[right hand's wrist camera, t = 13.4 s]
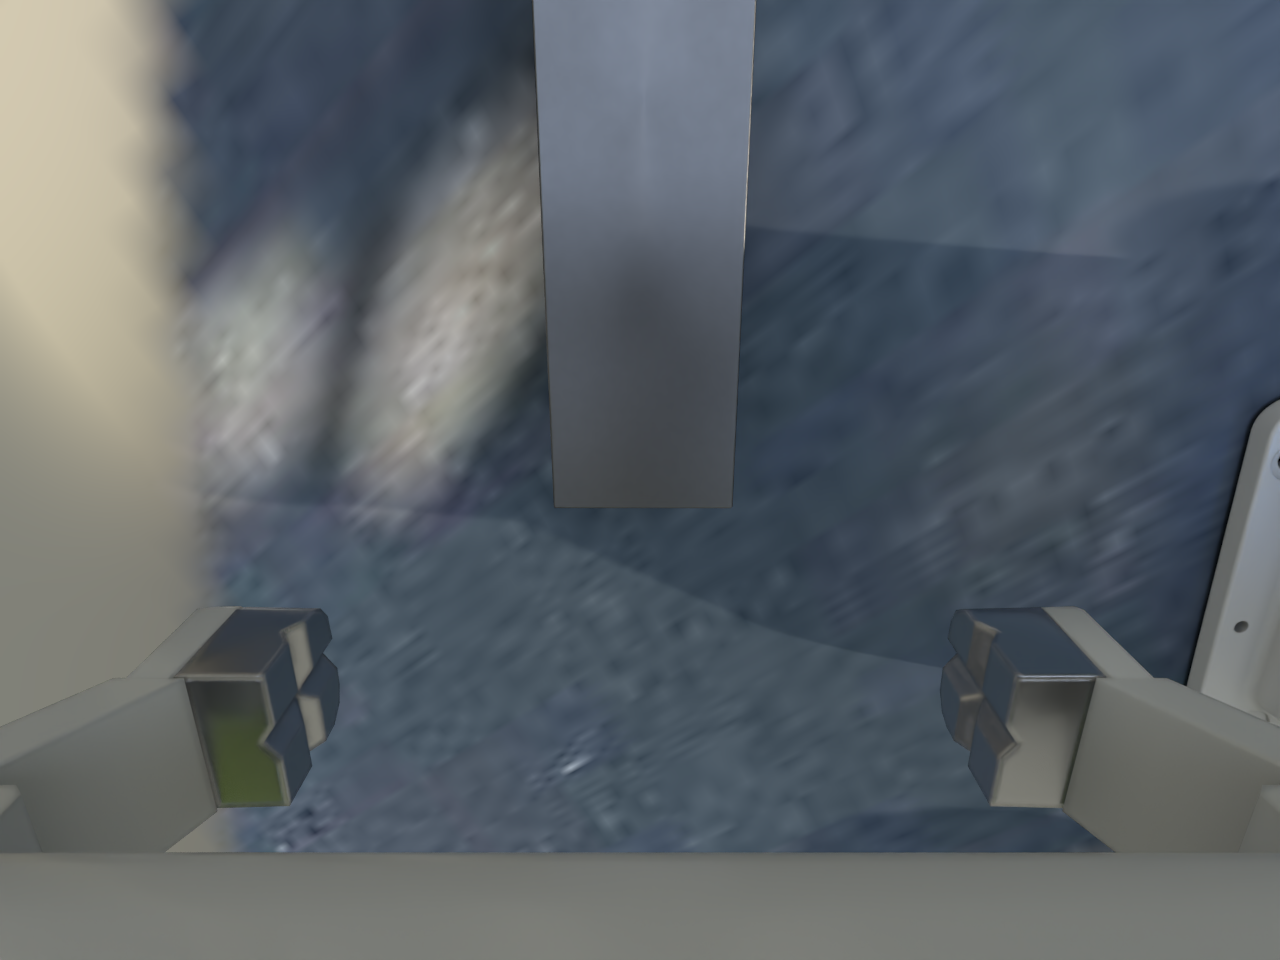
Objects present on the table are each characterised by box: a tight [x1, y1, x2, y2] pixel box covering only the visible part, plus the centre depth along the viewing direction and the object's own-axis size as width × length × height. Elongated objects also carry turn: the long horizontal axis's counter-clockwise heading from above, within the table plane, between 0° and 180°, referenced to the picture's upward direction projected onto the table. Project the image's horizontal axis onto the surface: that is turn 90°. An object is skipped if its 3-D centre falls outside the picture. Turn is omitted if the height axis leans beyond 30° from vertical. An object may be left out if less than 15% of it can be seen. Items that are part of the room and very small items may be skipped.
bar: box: [532, 0, 756, 508], centre depth 24 cm, size 23×6×8 cm, turn 0°
